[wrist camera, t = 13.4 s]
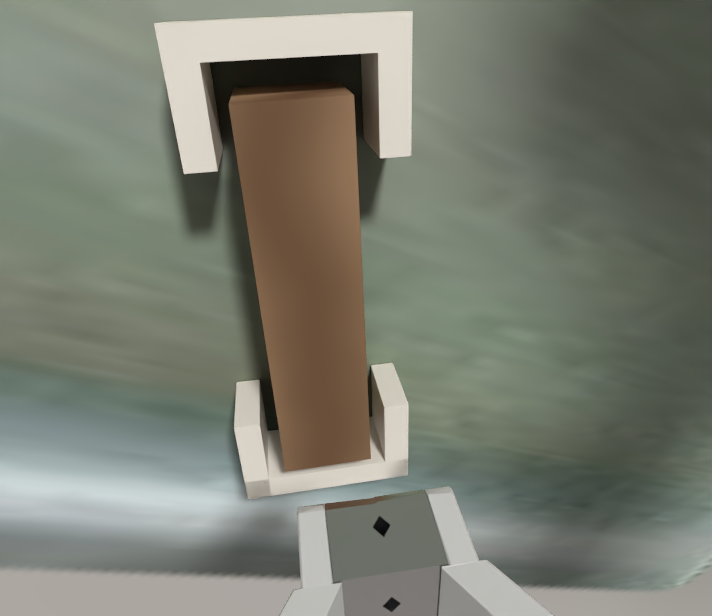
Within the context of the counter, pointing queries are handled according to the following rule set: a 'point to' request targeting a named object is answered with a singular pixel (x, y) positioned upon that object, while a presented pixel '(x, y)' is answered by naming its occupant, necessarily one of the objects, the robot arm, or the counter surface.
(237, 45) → the cap
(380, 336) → the counter surface
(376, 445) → the cap
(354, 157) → the slat
